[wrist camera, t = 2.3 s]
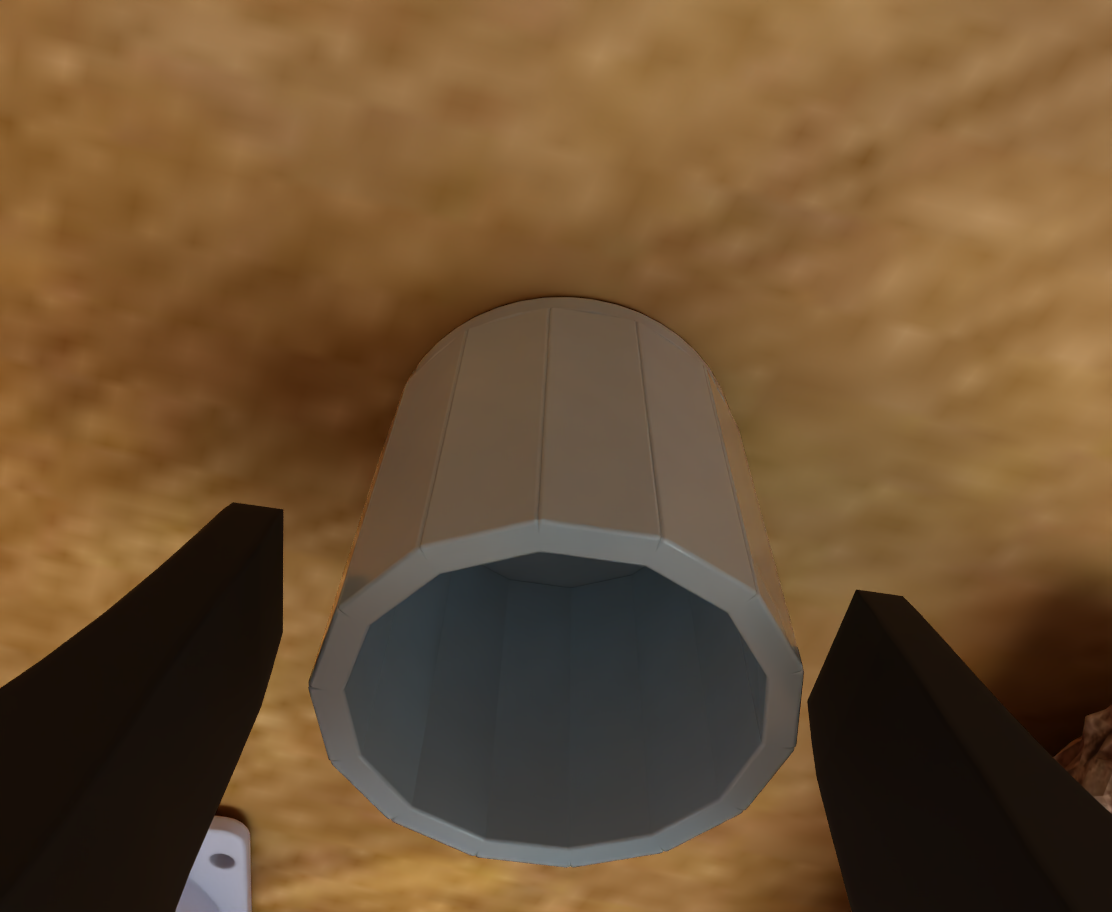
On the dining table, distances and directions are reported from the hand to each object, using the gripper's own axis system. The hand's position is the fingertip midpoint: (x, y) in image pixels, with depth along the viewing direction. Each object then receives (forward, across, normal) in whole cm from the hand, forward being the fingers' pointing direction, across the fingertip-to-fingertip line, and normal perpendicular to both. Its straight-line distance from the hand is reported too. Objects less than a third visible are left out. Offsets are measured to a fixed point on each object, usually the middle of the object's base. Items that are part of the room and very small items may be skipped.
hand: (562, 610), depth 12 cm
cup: (+4, 0, 0) cm, 4 cm away
